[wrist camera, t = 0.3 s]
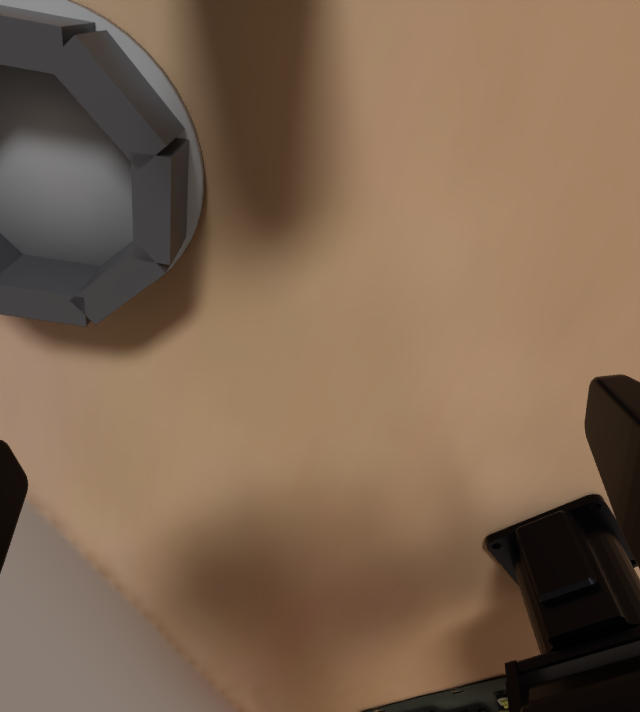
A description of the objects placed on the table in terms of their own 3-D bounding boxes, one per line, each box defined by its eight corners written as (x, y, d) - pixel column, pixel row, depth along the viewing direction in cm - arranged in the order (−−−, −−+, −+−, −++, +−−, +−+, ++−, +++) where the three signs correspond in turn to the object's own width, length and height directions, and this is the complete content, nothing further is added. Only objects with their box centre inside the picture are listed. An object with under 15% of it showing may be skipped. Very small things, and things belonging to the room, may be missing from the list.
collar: (263, 198, 20) (253, 228, 18) (75, 337, 24) (44, 378, 21) (32, -99, 16) (-25, -116, 13) (-159, 128, 19) (-234, 148, 16)
